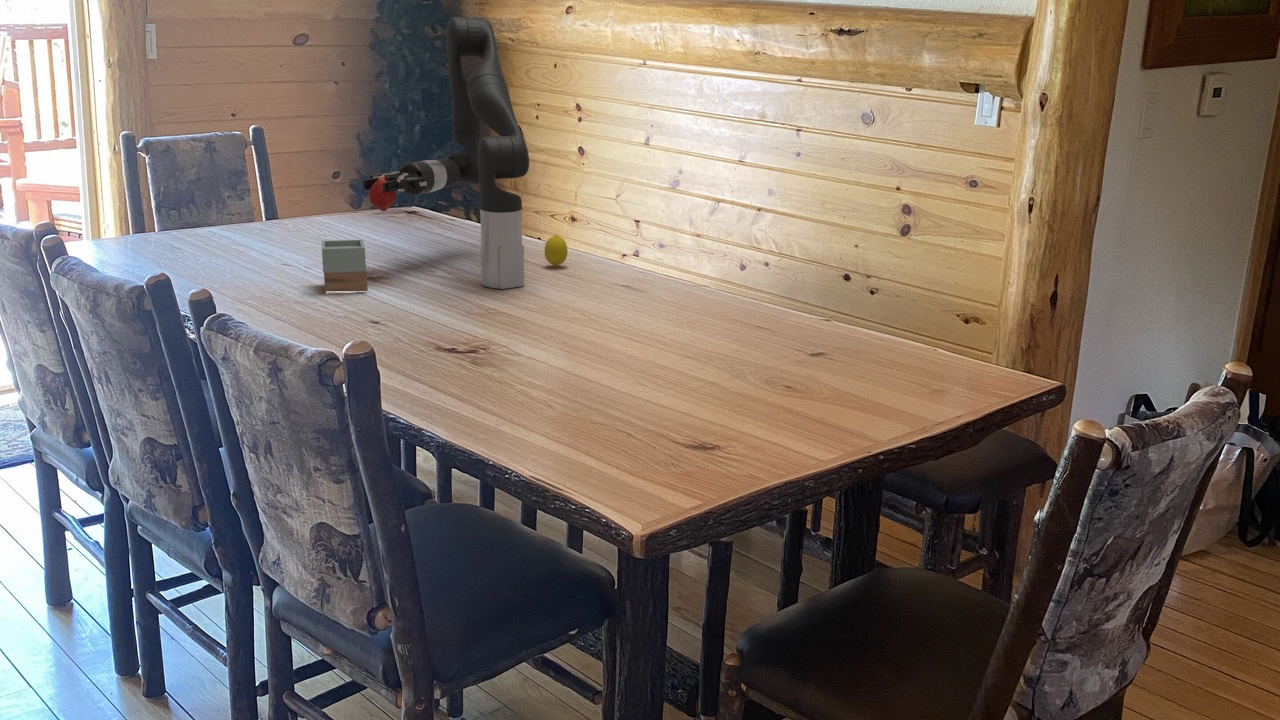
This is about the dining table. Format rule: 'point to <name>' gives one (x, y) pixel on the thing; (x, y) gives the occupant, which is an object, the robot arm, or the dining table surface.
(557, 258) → the lemon
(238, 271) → the dining table surface
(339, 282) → the tower base
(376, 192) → the onion
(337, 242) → the tower top
